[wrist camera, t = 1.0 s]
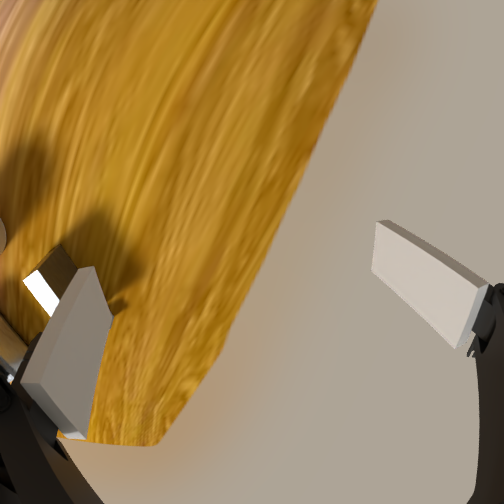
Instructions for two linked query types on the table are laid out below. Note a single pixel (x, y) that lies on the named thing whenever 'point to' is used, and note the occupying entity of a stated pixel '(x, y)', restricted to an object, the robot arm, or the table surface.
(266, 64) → the table surface
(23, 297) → the table surface
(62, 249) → the block
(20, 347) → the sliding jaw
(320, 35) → the table surface
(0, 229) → the coffee cup
